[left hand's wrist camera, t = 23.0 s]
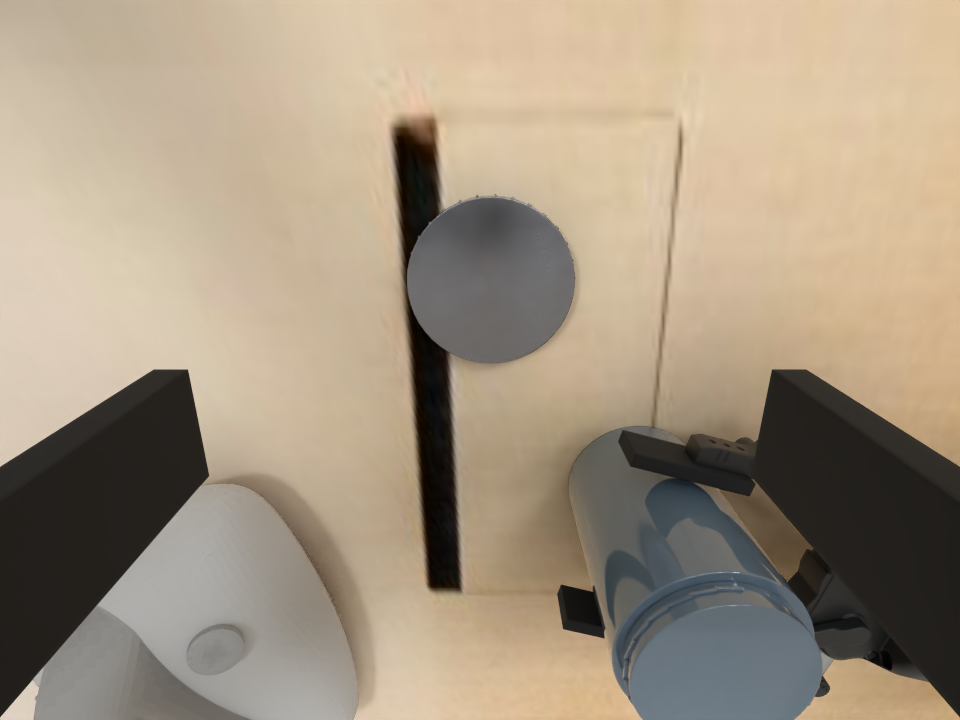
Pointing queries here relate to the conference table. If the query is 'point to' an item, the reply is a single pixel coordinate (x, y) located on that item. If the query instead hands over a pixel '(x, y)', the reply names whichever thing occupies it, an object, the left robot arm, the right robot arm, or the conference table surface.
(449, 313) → the lid
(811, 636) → the jar
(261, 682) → the projector
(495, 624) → the conference table surface
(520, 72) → the conference table surface
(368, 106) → the conference table surface
